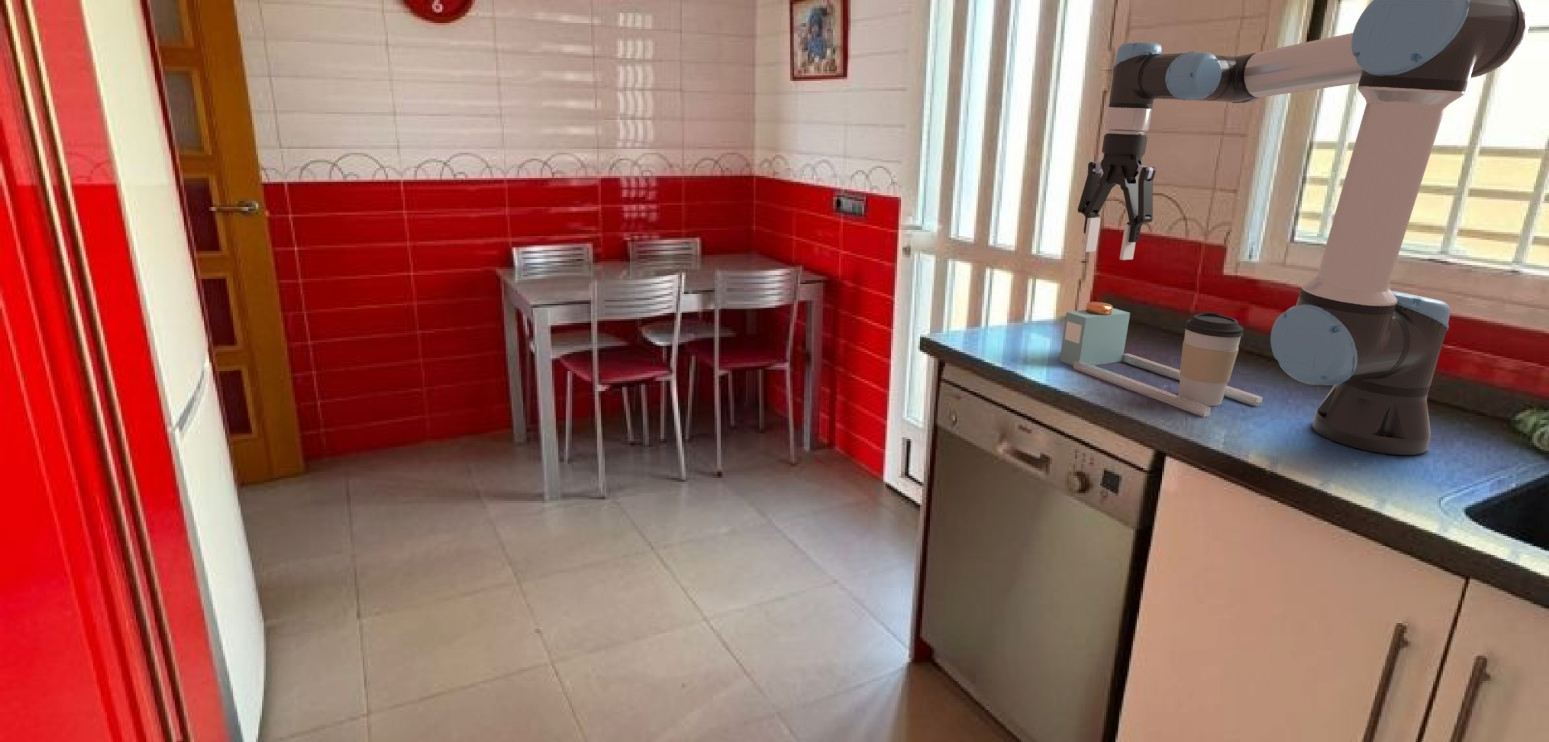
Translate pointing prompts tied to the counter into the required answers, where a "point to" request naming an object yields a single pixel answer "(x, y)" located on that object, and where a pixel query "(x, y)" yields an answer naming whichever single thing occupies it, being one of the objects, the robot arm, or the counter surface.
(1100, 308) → the knob
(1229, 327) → the coffee cup
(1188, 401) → the parallel base rails
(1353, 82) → the robot arm
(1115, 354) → the cabinet
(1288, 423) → the counter surface
